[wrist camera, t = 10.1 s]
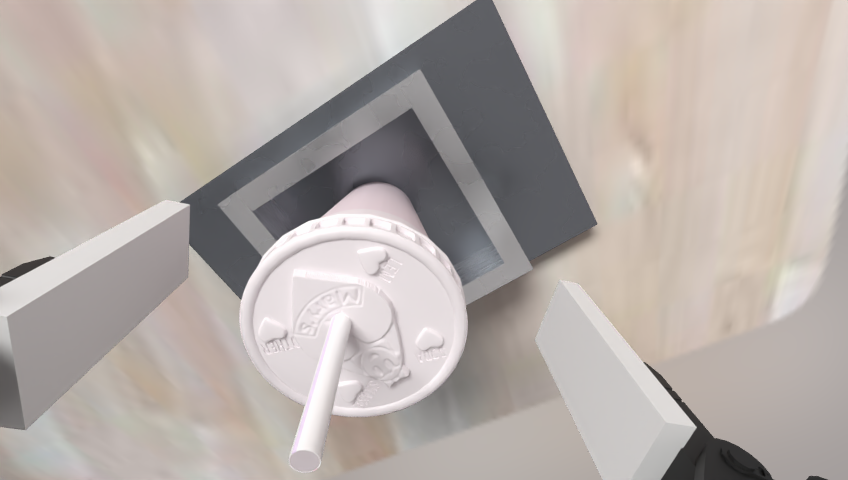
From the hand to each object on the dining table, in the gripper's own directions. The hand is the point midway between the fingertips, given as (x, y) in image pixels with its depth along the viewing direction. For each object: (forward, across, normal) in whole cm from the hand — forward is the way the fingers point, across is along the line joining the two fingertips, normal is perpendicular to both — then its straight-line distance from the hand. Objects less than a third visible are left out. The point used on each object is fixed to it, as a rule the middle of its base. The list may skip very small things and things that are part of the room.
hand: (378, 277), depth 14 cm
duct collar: (+7, 0, 0) cm, 7 cm away
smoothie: (+6, 0, 0) cm, 6 cm away
